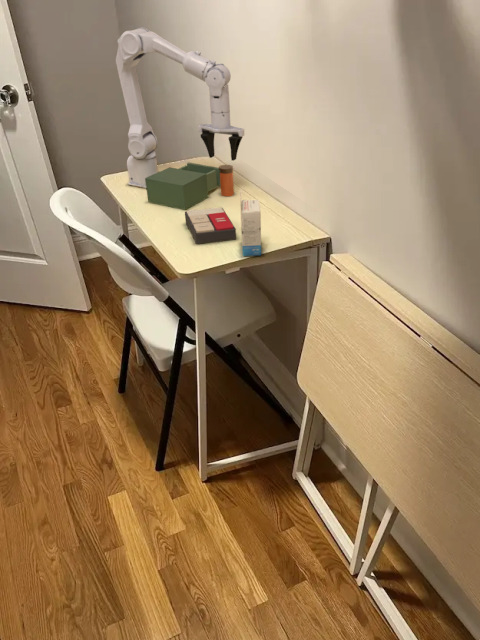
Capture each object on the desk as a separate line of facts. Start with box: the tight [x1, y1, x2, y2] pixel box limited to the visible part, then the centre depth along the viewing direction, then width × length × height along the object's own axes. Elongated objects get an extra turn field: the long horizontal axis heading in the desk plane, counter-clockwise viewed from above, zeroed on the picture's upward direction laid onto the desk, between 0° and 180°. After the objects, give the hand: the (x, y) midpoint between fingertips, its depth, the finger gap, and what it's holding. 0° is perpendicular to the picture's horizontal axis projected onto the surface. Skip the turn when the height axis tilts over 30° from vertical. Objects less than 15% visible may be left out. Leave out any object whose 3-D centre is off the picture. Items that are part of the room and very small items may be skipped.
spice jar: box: [218, 164, 235, 197], centre depth 179 cm, size 4×4×8 cm
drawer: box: [178, 162, 220, 193], centre depth 183 cm, size 15×13×6 cm
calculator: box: [184, 206, 237, 245], centre depth 156 cm, size 11×4×15 cm
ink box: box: [239, 188, 262, 257], centre depth 143 cm, size 9×5×15 cm, turn 5°
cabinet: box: [145, 166, 209, 211], centre depth 175 cm, size 12×14×7 cm
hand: (222, 158), depth 178 cm, fingers open, 7 cm apart
